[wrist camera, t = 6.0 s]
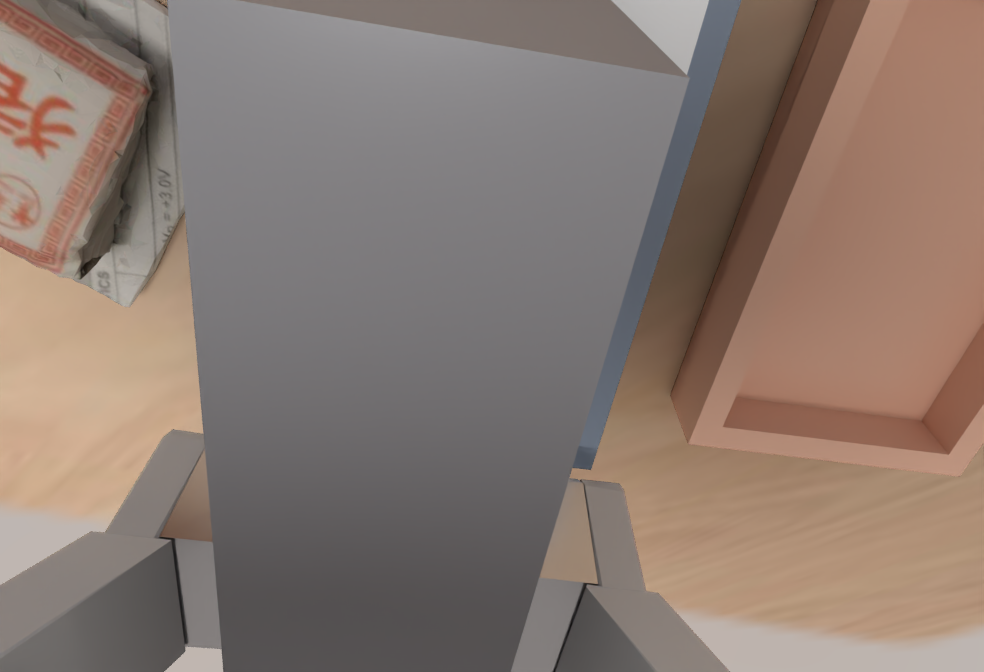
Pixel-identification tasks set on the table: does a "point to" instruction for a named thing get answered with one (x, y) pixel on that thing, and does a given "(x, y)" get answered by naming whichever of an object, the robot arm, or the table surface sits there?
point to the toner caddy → (407, 301)
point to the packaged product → (89, 140)
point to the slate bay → (660, 215)
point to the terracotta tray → (857, 254)
